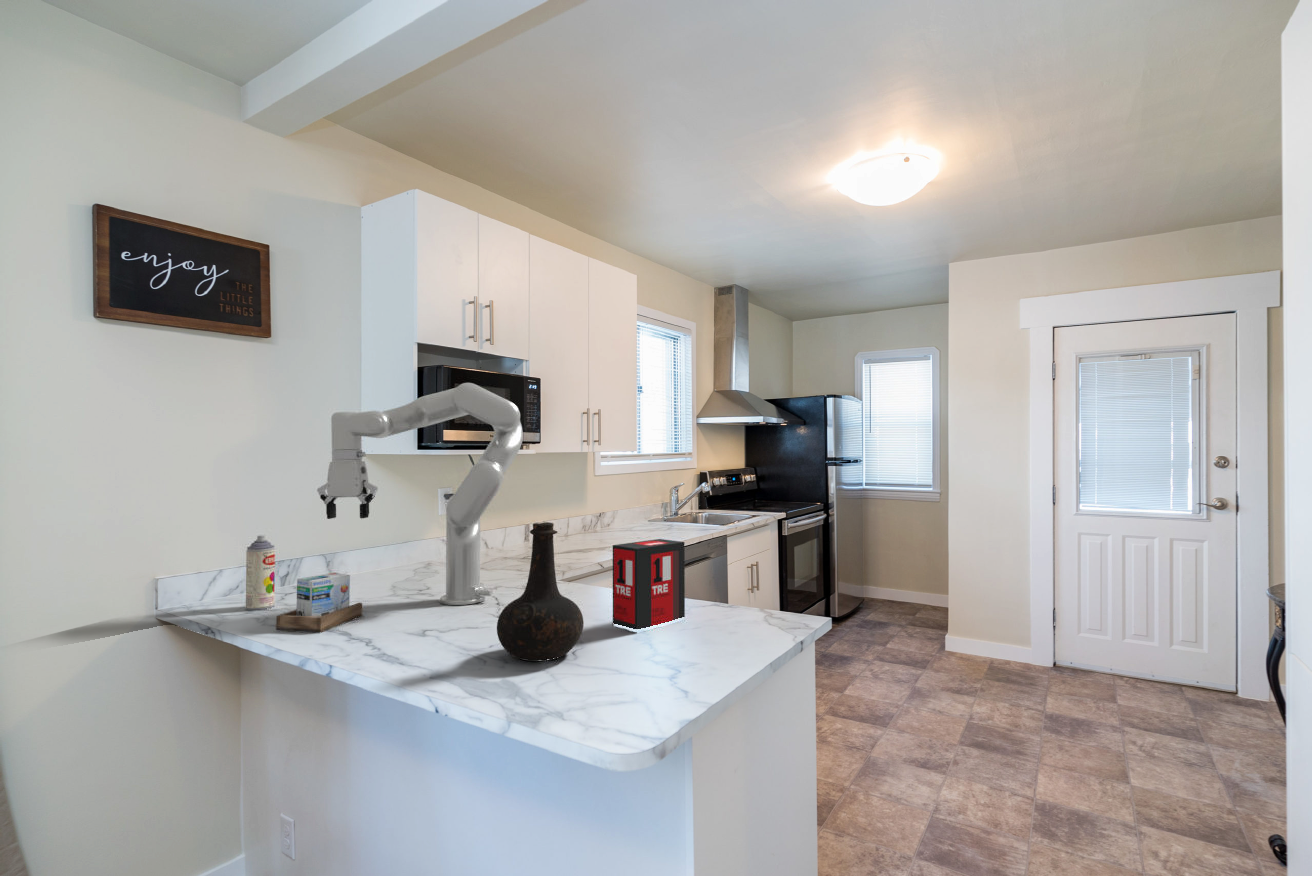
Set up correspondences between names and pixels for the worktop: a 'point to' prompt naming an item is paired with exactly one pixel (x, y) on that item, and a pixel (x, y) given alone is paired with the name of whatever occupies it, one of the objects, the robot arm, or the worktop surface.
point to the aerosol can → (260, 574)
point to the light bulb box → (322, 594)
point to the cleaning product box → (648, 583)
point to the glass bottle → (540, 608)
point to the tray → (317, 619)
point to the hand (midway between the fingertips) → (347, 518)
